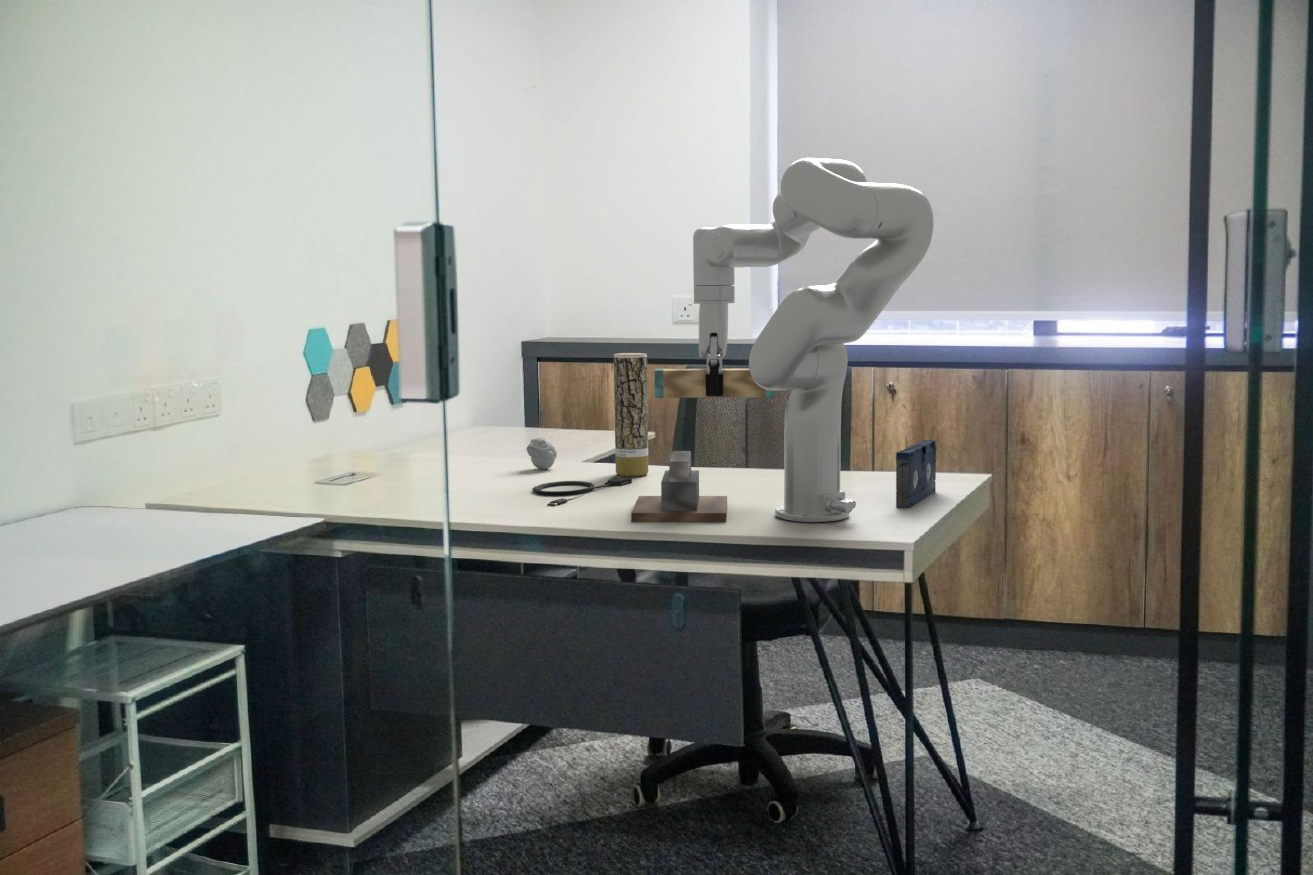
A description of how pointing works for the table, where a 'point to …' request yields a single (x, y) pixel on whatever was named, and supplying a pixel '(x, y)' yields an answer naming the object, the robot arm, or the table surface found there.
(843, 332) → the robot arm
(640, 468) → the bark log
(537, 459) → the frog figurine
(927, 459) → the vhs cassette tape
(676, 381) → the oak beam
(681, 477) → the fulcrum stand
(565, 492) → the cable
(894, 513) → the table surface
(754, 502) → the table surface
